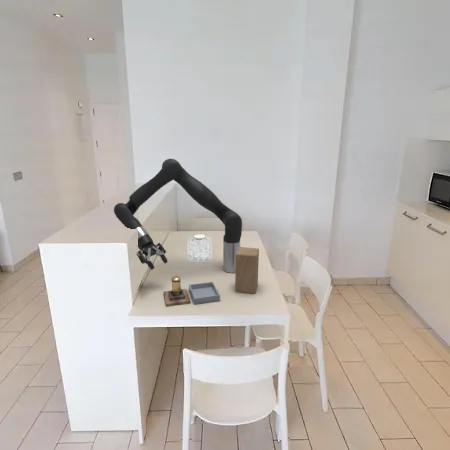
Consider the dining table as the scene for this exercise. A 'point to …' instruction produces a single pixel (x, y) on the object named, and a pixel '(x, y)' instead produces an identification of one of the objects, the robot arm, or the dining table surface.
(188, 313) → the dining table surface
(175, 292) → the pin
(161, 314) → the dining table surface
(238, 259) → the wooden block
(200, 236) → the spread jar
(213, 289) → the tray
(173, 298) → the pin dock
